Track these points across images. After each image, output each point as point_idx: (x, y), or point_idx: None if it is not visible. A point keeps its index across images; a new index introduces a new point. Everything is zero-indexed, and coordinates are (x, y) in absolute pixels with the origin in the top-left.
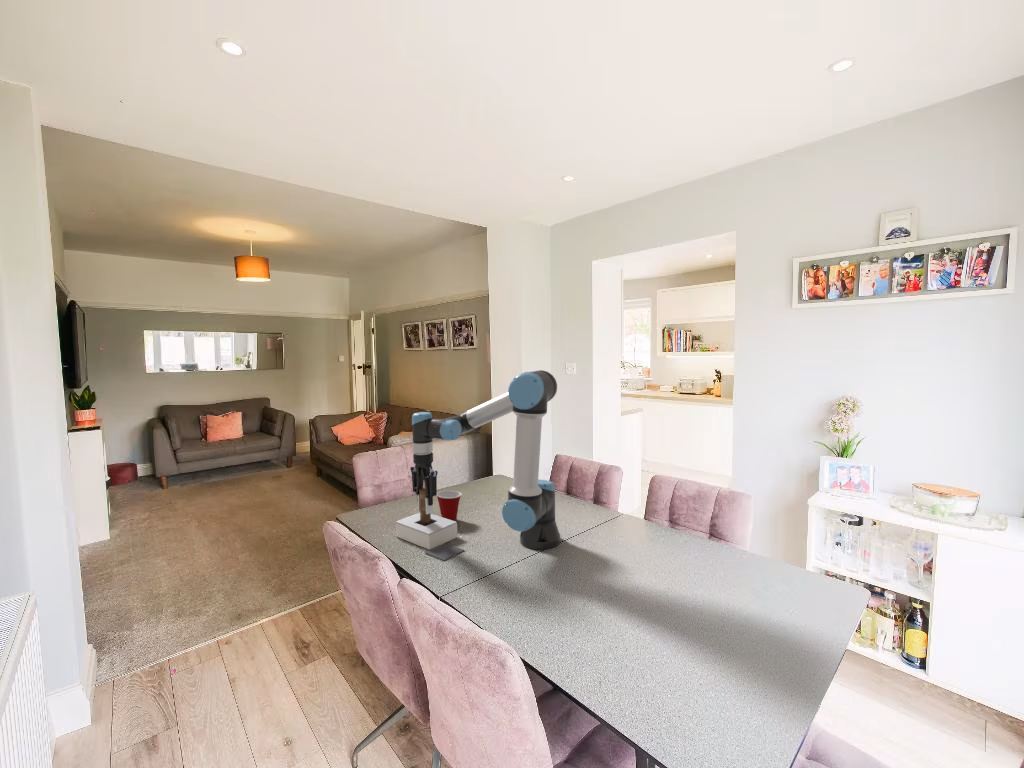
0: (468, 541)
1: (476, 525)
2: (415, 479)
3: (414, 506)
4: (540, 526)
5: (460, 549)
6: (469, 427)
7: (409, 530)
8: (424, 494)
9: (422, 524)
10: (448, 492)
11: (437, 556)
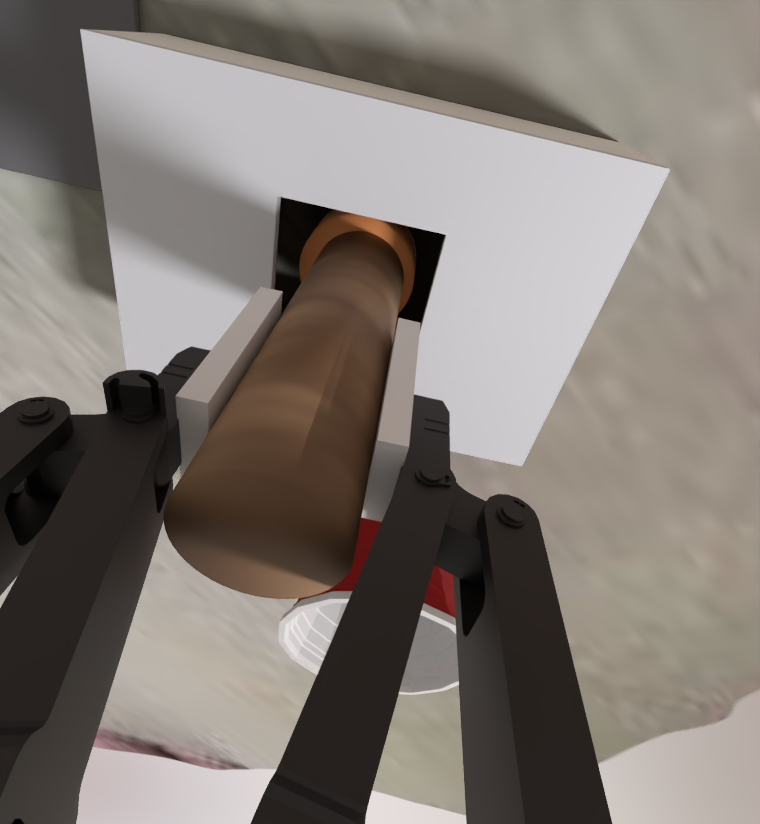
0: (72, 298)
1: None
2: (495, 756)
3: (726, 586)
4: None
5: None
6: None
7: (420, 105)
8: (210, 438)
9: (351, 244)
10: (429, 676)
11: None
